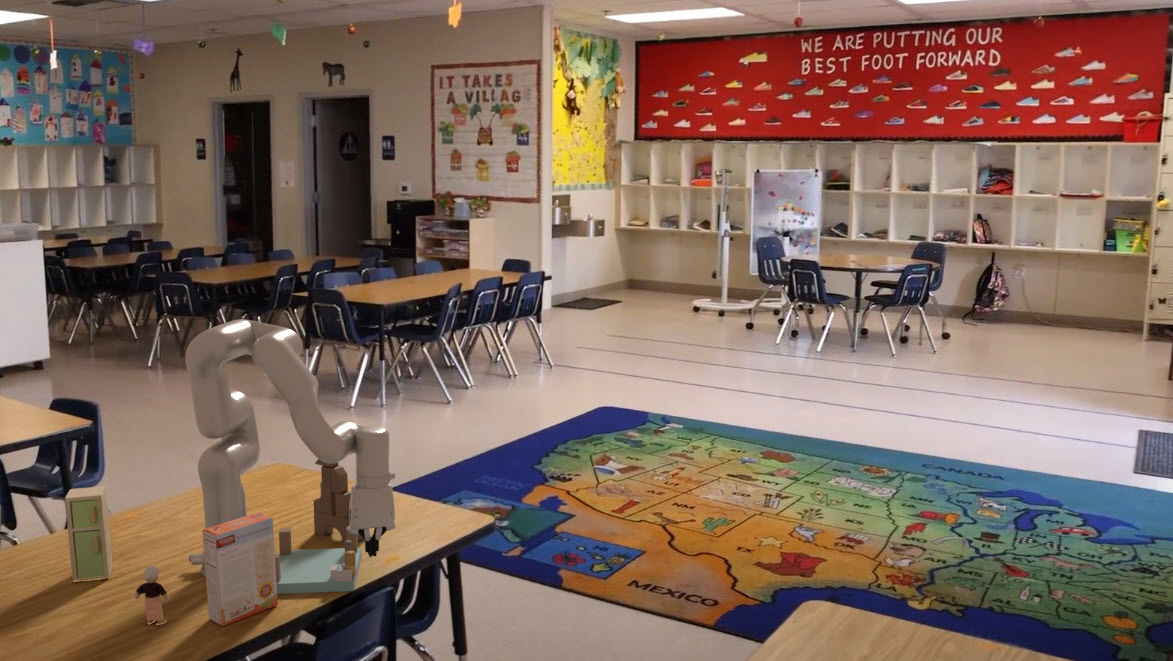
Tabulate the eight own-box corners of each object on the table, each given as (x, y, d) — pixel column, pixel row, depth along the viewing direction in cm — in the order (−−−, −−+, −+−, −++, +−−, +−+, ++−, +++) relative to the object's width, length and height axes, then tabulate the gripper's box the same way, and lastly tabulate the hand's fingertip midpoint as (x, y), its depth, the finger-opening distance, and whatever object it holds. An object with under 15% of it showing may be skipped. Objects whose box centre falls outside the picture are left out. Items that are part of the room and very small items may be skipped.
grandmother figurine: (175, 618, 229) (171, 563, 227) (169, 626, 226) (165, 570, 223) (139, 618, 229) (135, 563, 227) (132, 626, 225) (128, 570, 223)
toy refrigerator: (71, 584, 246) (63, 498, 242) (77, 572, 253) (70, 488, 249) (108, 581, 248) (101, 495, 244) (113, 569, 255) (106, 485, 251)
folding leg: (343, 562, 252) (342, 540, 251) (353, 561, 253) (352, 539, 252) (345, 577, 244) (344, 555, 243) (356, 576, 245) (355, 554, 244)
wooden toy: (370, 536, 277) (368, 444, 272) (352, 544, 271) (349, 450, 267) (328, 524, 285) (325, 435, 281) (309, 532, 280) (305, 441, 275)
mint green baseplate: (264, 594, 242) (262, 559, 240) (279, 560, 261) (277, 527, 260) (353, 590, 244) (352, 556, 242) (361, 557, 263) (360, 524, 262)
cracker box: (263, 598, 240) (259, 510, 236) (278, 606, 236) (274, 516, 232) (206, 619, 229) (201, 527, 225) (222, 627, 225) (216, 534, 221)
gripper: (401, 472, 251) (400, 545, 255) (337, 477, 246) (337, 551, 249) (407, 482, 244) (406, 557, 248) (342, 487, 239) (342, 564, 242)
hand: (371, 554), depth 248 cm, fingers closed
